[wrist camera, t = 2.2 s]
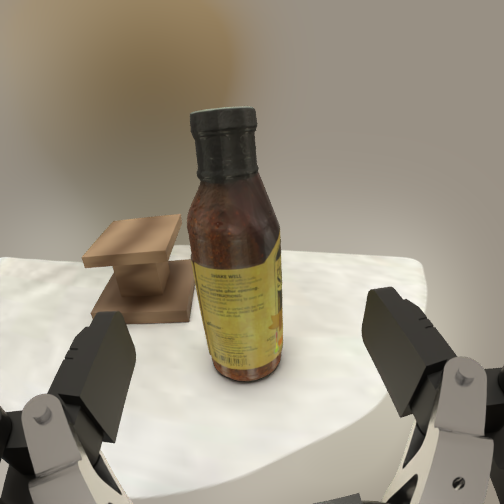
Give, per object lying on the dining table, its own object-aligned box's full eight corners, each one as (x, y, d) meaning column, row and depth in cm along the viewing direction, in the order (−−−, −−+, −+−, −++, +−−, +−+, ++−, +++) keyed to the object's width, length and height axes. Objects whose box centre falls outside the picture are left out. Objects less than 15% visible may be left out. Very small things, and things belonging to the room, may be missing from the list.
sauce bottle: (296, 367, 24) (301, 104, 15) (227, 395, 22) (189, 109, 13) (260, 325, 29) (249, 107, 20) (200, 345, 27) (165, 114, 18)
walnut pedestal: (94, 323, 30) (71, 260, 26) (121, 274, 39) (107, 220, 36) (189, 321, 30) (175, 251, 26) (197, 268, 40) (189, 211, 36)
